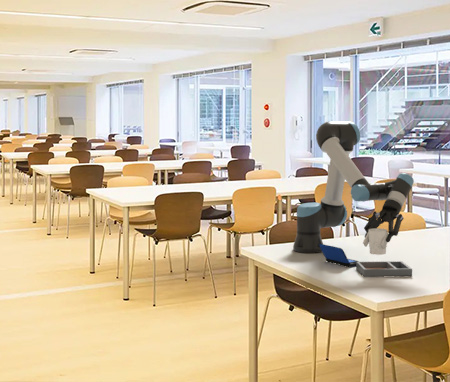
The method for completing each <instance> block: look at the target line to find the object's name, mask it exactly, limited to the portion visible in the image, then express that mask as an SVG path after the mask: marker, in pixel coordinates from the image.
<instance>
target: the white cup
mask: <svg viewBox="0 0 450 382" xmlns="http://www.w3.org/2000/svg"><path fill="white" fill-rule="evenodd" d="M386 233H388V229H386V228H379V227H377V228H374V229H369V230H368V234H369V243H368V247H369V254H371V255H377V256H379V255H386V254H387V247H388V244H387V245H386V247H385V249H382V247H381V243H382V241H383V239H384V237H385V234H386Z"/></svg>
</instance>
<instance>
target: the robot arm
mask: <svg viewBox="0 0 450 382" xmlns="http://www.w3.org/2000/svg"><path fill="white" fill-rule="evenodd" d="M315 138H316V143H317V146H318V147H319V149H320V150H321V151H322V153H326V155H327V156H328V158H329V159H330V161H329V167H328V172H327V180H326V185H325V192H324V196H323V197H322V198H321V199H320V202H314V201H313V202H305V203H301V204H299V205H298V206H297V208H296V209H297V210H296V236H295V239H294V243H293V246H292V247H293V251H294V250H295V251H294V252H296V251H297V253H301V252H304V253H303V254H314V253H315V252H318V253H323V252H322V250H321V248H320V244H324V243H323V239H322V236H321V235H322V234H321V229H325V228H335V227H336V228H337V227H339V226H342V225H343V224H344V223H345V222H346V220H347V217H348V210H347V207H346V205H345V202H344V200H343V193H344V188H345V187H344V186H345V182H347V184H348V185H349V187H350V188H351V189H350V195H351V198H352V200H353V201H355V202H370V201H384V203H383V205H382V209H381V210H380V211H379V212H377V211H375V210H374V211H373V213H372V215H371V217H370V219H369V220H368V221H367V223H366V225H365V226H364V227H363V228H364V230H365V235H364V239H363V242H362V244H363V245H364V247H368V246H369V234H368V230H369V229H374V228H379V226H381V224H382V225H383V224H384V223H388V229H387V233H386V234H385V237H384V239H383V241H382V243H381V247H382V249H385V247H386V245H387V246H388V243H390V242H391V239H392V237H397V236H399V232H400V228H401V226H402V225H401V224H402V221H404V216H403V215H402V213H400V212H401V211H402V208H403V206H404V205H405V203H406V200H407V198H408V197H409V193H410V192H411V191H412V187H413V185H414V182H415V181H414V178H413V176H412V175H409V173H405V172H401V173H399V174H398V175H397V176H396V179H394V180H391V181H386V182H385V181H384V182H376V183H369V181H368V180H367V179H366V177H365V176H364V174H363V173H362V172H361V170H359V168H358V166H356V163H354V161H353V160H352V158H351V157H350V154H351V153H352V152H353V151H354V148H355V147H354V146H356V145H358V144H359V143H360V141H361V131H360V129H359V126H358V125H357V124H356V123H355V122H352V121H346V120H345V121H343V120H342V121H326V122H324V123H321V125H320V126H318V128H317V131H316V134H315ZM394 221H395V222H394ZM386 248H387V247H386ZM315 254H316V253H315Z"/></svg>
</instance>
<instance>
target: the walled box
mask: <svg viewBox="0 0 450 382" xmlns="http://www.w3.org/2000/svg"><path fill="white" fill-rule="evenodd" d="M355 268H356V270H357V271H358V272H359V274H360V275H361V276H362V275H363V276H364V277H363V278H385V277H384V276H412V277H413V268H412V267H410V266H409V265H407V264H406V263H405V262H404V261H402V260H400V261H399V260H396V261H394V260H393V261H392V260H391V261H386V260H385V261H384V260H383V261H382V260H381V261H380V260H379V261H377V260H376V261H359V262H356V266H355Z"/></svg>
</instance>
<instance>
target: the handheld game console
mask: <svg viewBox="0 0 450 382" xmlns="http://www.w3.org/2000/svg"><path fill="white" fill-rule="evenodd" d="M320 248H321V250H322V252H321V253H323V255H324V257H325V262H326V261H328V262H327V263H330V262H331V263H330V264H333V263H336V264H335V265H338V264H340V265H339V266H341V265H342V266H341V267H345V266H346V268H353V267H356V262H360V261H359V260H356V259H352V258H348V257H347V255H346V253H345V252H344V249H343V248H341V247H336V246H333V245H328V244H324V243H323V244H320Z"/></svg>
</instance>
